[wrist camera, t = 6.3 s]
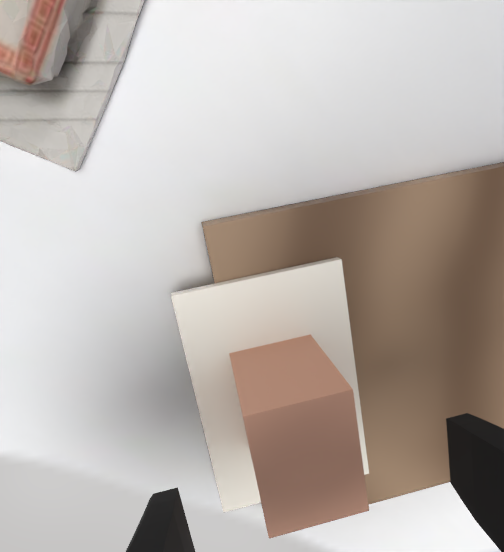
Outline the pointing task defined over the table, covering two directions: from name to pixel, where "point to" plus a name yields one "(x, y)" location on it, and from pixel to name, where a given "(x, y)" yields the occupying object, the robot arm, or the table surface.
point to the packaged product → (60, 72)
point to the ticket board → (400, 305)
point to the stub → (278, 393)
